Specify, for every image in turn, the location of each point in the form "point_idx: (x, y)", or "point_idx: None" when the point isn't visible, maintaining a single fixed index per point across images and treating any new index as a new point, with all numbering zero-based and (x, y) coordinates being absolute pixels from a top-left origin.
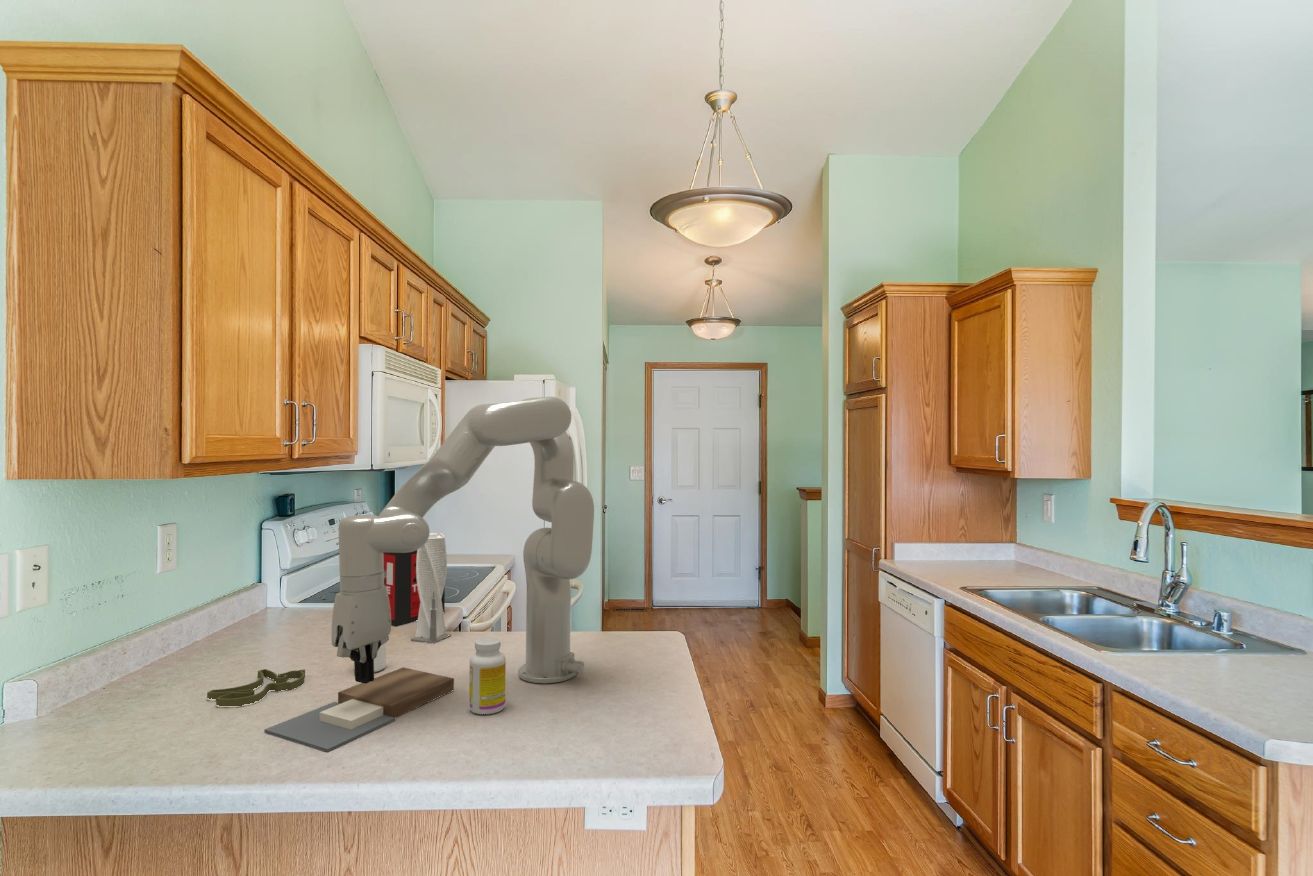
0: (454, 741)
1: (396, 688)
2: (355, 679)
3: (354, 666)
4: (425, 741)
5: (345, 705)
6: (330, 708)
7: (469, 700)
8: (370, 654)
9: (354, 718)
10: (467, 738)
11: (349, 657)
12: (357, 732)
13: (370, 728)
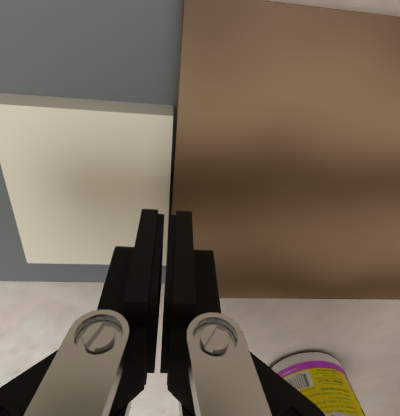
0: (144, 400)
1: (310, 215)
2: (142, 213)
3: (101, 295)
4: None
5: (104, 146)
6: (43, 112)
7: (287, 380)
8: (182, 408)
9: (45, 259)
10: (165, 405)
11: (23, 374)
12: (38, 269)
13: (77, 279)
